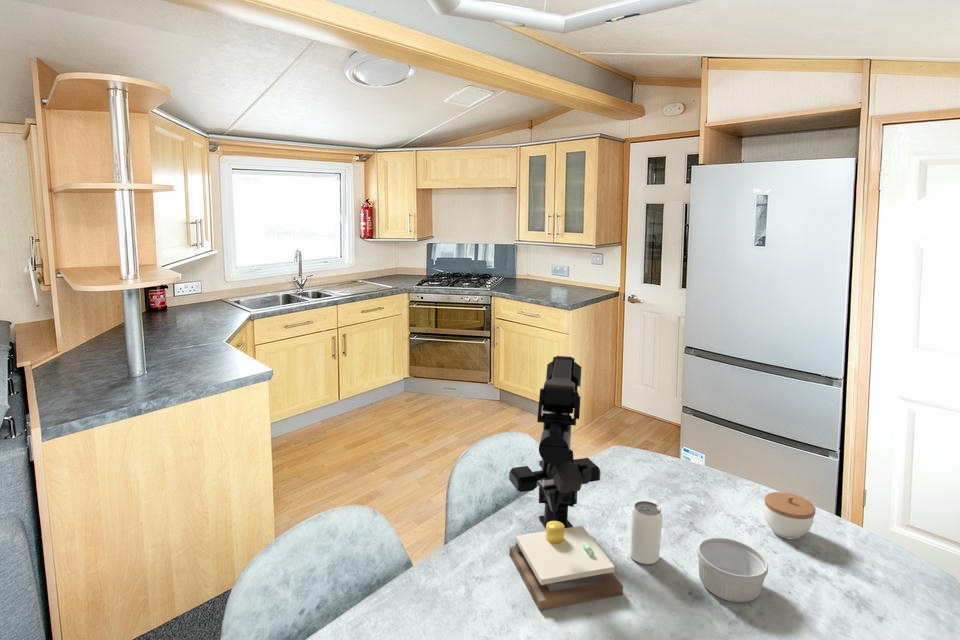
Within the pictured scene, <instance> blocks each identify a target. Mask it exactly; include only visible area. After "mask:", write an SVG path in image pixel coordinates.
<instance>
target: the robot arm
mask: <svg viewBox="0 0 960 640" xmlns="http://www.w3.org/2000/svg"><path fill="white" fill-rule="evenodd" d="M546 365H547V366H546V377H545V381H544V385H543V388H540V391H539V398H538V409H537V410H538V411H537V418H536V419H537V421H536V422H537V423H543V428H542V433H541V437H540V442H539V444H538V445H539V446H538V453H539V456H540V457H541V460H539V463H538V465H539V466H540V467H541V469H540V470H536V471H534V470H533V471H532V470H531V468H530V467H529V466H528V465H524V466H516V467H512V468H511V469H510V470H509V472H508V474H509V475H508V481H510V483H511V484H512V485H513V487H514V488H515V489H516V491H517V492H520V493H525V492H531V491H534V490H535V489H536V488H537V487H538V504H544V513H543V515H539V516H538V519H539V521H540V523H542V526H544V528H545V529H546V524H547V523H548V522H550V521H558V522H561V523H563V524H564V526H565V528H571V527H574V526H573V524H572V523H571V522H570V520H569V519H568V515H569V507H570V508H574V506H575V505H576V504H577V503H578V492H579V491H581V488H582V485H588V484H589V483H591V482H592V483H593V482H598V481H600V480H601V468H600V467H599V466H598V465H597V464H596V463H595V462H593V460H591V459H590V458H589V457H583V458H576V459H574V451H573V450H572V449H571V440H572V439H571V438H572V437H571V436H572V426H575V427H576V426H577V420H580V416H581V415H580V414H581V413H580V410H581V396H580V395H579V392H578V388H580V387H581V385H582V383H581V382H582V366H581V365H579V364H578V363H577V362H576V361H575V357H572V356H567V355H566V356H565V355H556V356H553V357H552V361H551V362H549V363H548V364H546ZM542 411H543V412H542ZM546 412H548V413H546ZM571 414H573V416H572V415H571Z"/></svg>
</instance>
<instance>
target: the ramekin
mask: <svg viewBox="0 0 960 640" xmlns="http://www.w3.org/2000/svg"><path fill="white" fill-rule="evenodd" d="M697 557H698V575H699V576H698V577H699V579H700V582H701V583H702V585H703V586H704V587H705V588H706V589H707V591H709V592H710V593H711V594H713V595H714V596H716V597H718V598H720V599H722V600H724V601H728V602H734V603H749V602H751V601H753V600H755V599H756V598H758V597H759V595H760V593H761V591H762V589H763V585H764V582H765V578H766V577H767V575H768V572H769V563H768V561H767V559H766V557H765V556H764V555H763V554H762V553H761V552H760V551H758V550H757V549H756V548H754V547H752V546H751V545H749V544H747V543H746V542H745V543H744V542H742V541H739V540H736V539H733V538H728V537H727V538H726V537H710V538H705V539H703V540H702V541H701V542H700V543H699V544H698V547H697Z"/></svg>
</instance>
